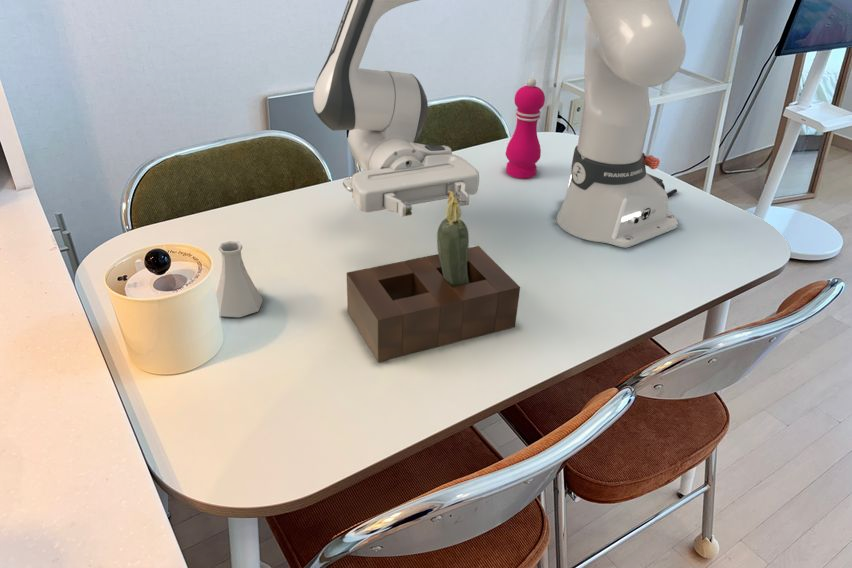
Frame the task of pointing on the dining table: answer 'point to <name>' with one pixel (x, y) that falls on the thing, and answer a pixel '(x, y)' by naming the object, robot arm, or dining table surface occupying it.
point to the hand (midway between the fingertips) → (436, 206)
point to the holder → (429, 304)
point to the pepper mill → (525, 132)
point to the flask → (236, 284)
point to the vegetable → (453, 245)
